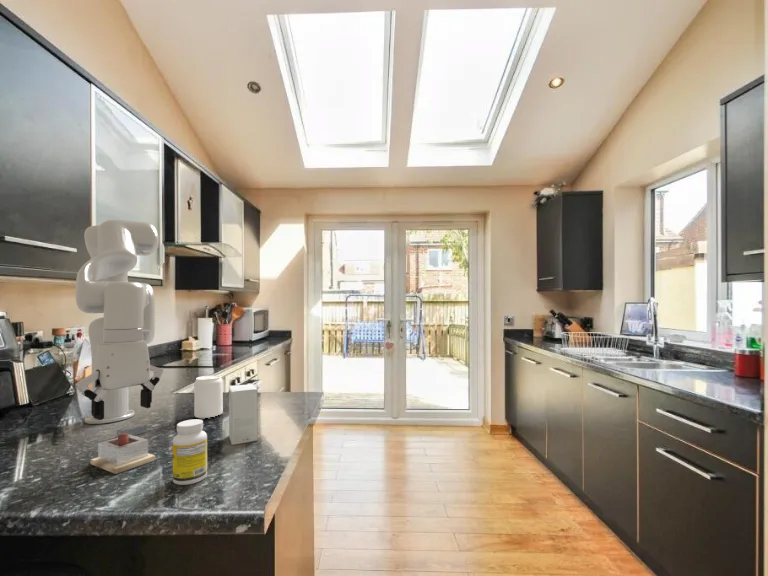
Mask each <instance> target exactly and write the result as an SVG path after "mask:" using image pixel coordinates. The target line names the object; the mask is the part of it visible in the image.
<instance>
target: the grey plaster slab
mask: <svg viewBox="0 0 768 576" xmlns="http://www.w3.org/2000/svg"><path fill="white" fill-rule="evenodd" d="M147 427H148V425H147V424H145V423H141V422H139V423H137V424H133V425H128V426H125V427H120V428H118V429H116V438H118V435H119V434H123V433H129V434H130V435H133V436H137V435H140V434H144V433H147V432H148V430H147Z"/></svg>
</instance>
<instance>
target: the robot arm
mask: <svg viewBox="0 0 768 576" xmlns="http://www.w3.org/2000/svg"><path fill="white" fill-rule="evenodd" d="M158 233H159V232H158V230H157V228H156V226H154V225H153V224H152V223H149V222H144V221H143V222H142V221H132V220H122V219H108V220H106V221H103V222H101V223H100V225H98V224H97V225H90V226H88V227H87V228H85V231H84V236H83V237H84V242H85V243H84V244H85V247H86V250H87V253H88V255H89V257H90V259H89V260H88V261H86V262H85V263H84V264H83V265H82V266H81V267H80V268H79V270H78V272H77V275H76V277H75V278H76V281H75V303H76V306H77V307H78V309H79V310H80V311H81V312H83V313H86V314H103V317H99V318H96V319H93V320H92V321H91V322H90V324H89V325H88V330H87V331H88V338H89V343H90V344H89V345H90V352H91V354H90V355H91V356H90V357H91V374H89V375H87V376H86V377H84V378H83V379H81V380H78V381H77V383H76V386H77V389H78V390H79V391H80V392H81V394H82V395H83V396H84V397H86V398H88V400H90V401H91V404H90V405H91V406H90V409H91V410H90V411H91V412H90V413H91V414H89V415H87V416H86V417H84V423H85V424H89V425H98V424H99V425H100V424H101V425H102V424H108V423H114V422H115V423H116V422H120V421H125V420H127V419H130V418H131V417H133V416H134V415H135V410H134V409H129V396H130V395H129V392H130V391H129V388H131V387H135V386H141V388H142V389H140V395H139V396H140V401H139V402H140V403H139V405H140V407H141V408H145V409H150V408H151V407H152V406H151V403H152V402H153V391H154V390H155V386H156V385H157V384H158V383H159V382H160V379H161V377H162V375H163V373H164V369H163V368H161V367H157V366H155V365H152V364H151V361H150V354H149V348H148V345H149V344H151V343H152V342H153V341H154V338H155V330H156V329H155V328H156V326H155V325H156V324H155V322H156V320H155V319H156V317H155V316H156V314H155V313H156V312H155V311H156V310H155V309H156V307H155V306H156V305H155V304H156V303H155V301H156V299H155V298H156V297H155V291H154V288H153V287H152V286H151V285H150V284H149V283H145V282H138V281H129V280H128V278H129V275H128V273H129V272H130V271H131V270H134V268H135V266H136V265H137V264H138V256H150V255H152V254H153V253H155V252H156V250H157V249H158V246H159V243H160V242H159V241H160V239H159V234H158ZM151 372H153V376H152V377H151ZM90 384H91V389H90V387H89V385H90Z"/></svg>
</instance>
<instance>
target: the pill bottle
mask: <svg viewBox="0 0 768 576" xmlns="http://www.w3.org/2000/svg"><path fill="white" fill-rule="evenodd" d="M203 428H204V420H203V419H200V418H198V419H197V418H196V419H187V420H186V419H185V420H183V421H180V422H178V423H177V424H176V432H177V434H176V435H175V436H174V437H173V439H172V483H174V484H175V485H179V486H189V485H193V484H196V483H198V482H199V483H200V482H201V481H203V480H204V479H205V478H206V477H207V475H208V433H207V432H205V430H203Z"/></svg>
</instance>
